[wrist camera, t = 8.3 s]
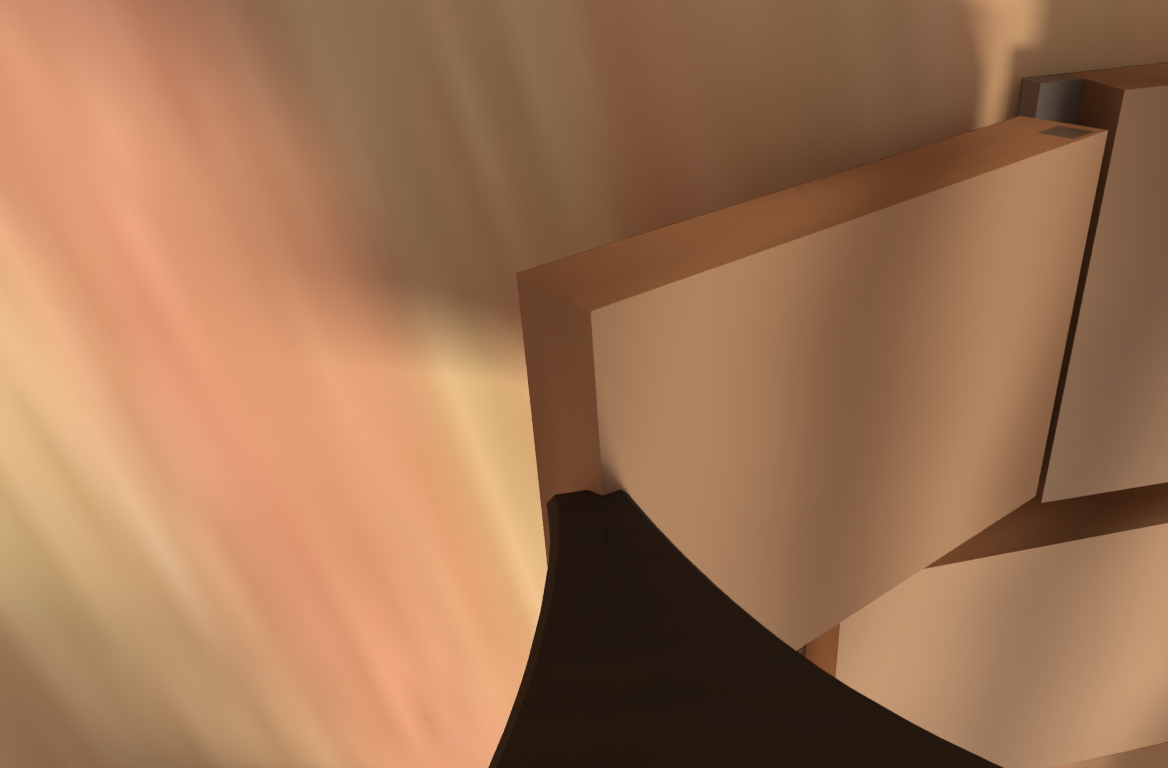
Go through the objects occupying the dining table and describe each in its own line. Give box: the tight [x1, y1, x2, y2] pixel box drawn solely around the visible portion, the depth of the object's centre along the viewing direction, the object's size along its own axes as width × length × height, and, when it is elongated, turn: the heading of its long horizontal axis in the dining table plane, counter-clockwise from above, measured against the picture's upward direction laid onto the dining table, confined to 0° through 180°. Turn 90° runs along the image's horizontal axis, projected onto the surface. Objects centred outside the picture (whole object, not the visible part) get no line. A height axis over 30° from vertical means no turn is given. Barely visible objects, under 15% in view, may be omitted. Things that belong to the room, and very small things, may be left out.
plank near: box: [517, 116, 1108, 651], centre depth 15 cm, size 10×7×2 cm
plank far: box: [805, 482, 1168, 768], centre depth 22 cm, size 10×7×2 cm
